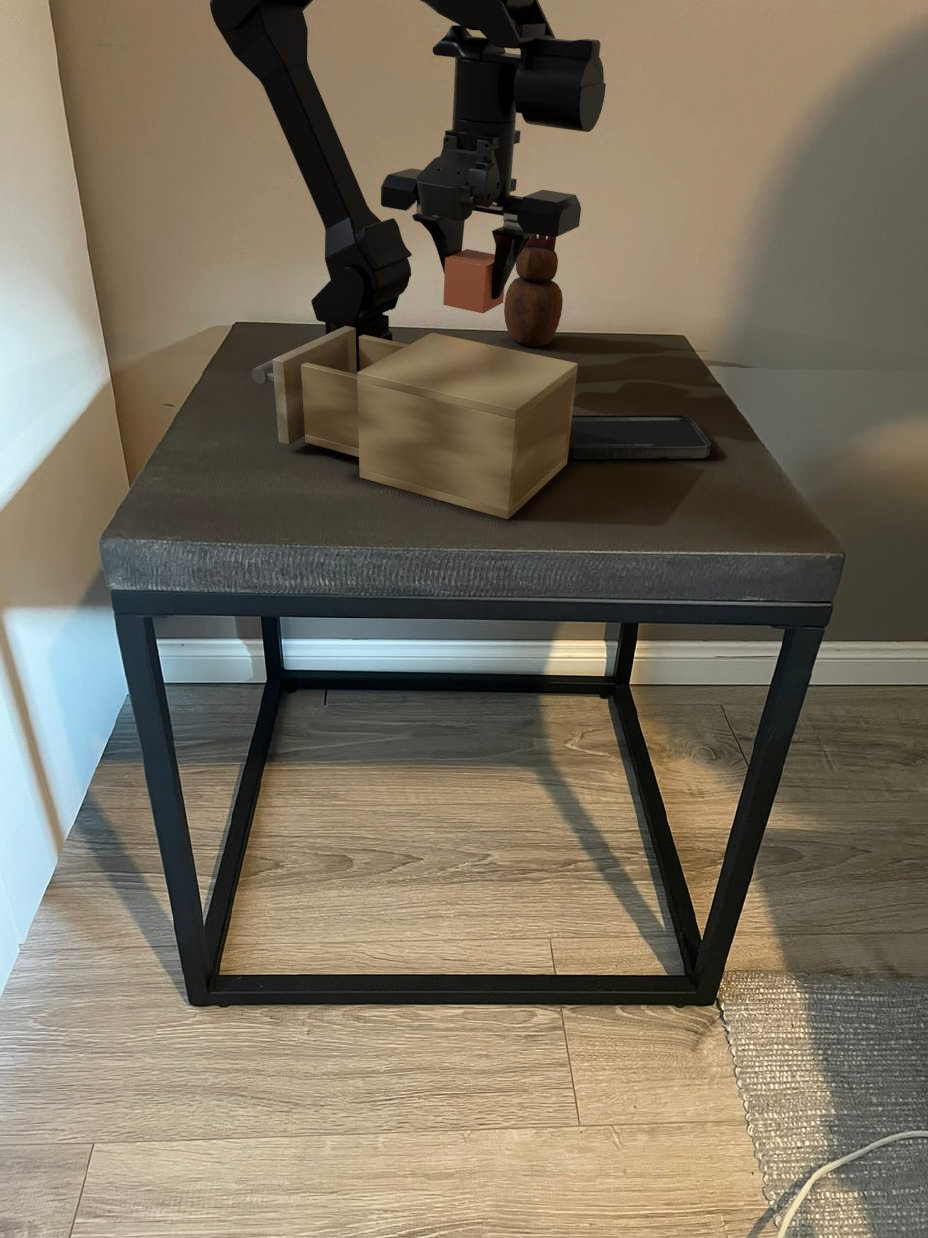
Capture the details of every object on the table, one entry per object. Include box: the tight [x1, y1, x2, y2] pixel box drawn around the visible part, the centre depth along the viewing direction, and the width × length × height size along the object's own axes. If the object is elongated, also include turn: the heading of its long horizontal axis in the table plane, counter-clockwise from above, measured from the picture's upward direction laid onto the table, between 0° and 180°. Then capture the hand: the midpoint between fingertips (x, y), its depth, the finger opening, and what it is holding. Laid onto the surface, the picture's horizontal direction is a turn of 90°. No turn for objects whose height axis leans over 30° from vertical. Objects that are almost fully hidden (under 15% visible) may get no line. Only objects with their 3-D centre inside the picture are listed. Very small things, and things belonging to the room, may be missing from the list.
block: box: [442, 248, 506, 314], centre depth 94 cm, size 4×4×4 cm
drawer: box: [251, 326, 410, 458], centre depth 87 cm, size 18×11×8 cm, turn 62°
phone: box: [567, 414, 712, 460], centre depth 92 cm, size 8×1×15 cm
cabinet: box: [357, 332, 579, 520], centre depth 83 cm, size 15×13×10 cm
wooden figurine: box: [503, 234, 564, 347], centre depth 112 cm, size 7×6×15 cm
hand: (473, 293), depth 94 cm, fingers closed on block, 4 cm apart
